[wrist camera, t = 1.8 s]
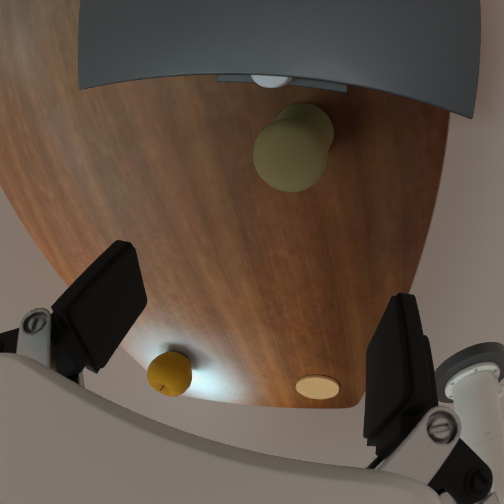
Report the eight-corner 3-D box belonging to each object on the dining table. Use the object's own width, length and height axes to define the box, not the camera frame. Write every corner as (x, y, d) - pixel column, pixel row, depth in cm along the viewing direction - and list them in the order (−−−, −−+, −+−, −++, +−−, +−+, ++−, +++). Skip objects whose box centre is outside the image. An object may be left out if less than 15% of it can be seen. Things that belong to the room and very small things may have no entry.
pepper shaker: (339, 110, 25) (344, 128, 16) (326, 167, 28) (322, 214, 19) (277, 97, 26) (247, 107, 17) (268, 153, 29) (236, 193, 20)
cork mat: (344, 378, 46) (344, 381, 46) (333, 399, 51) (332, 401, 50) (300, 371, 48) (299, 374, 47) (293, 392, 52) (292, 395, 52)
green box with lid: (380, 42, 20) (478, -26, 3) (375, 94, 23) (470, 136, 6) (243, 28, 22) (82, -24, 5) (240, 78, 25) (79, 102, 8)
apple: (190, 343, 51) (170, 382, 44) (206, 371, 55) (190, 407, 48) (154, 340, 54) (133, 374, 47) (171, 366, 58) (154, 399, 51)
